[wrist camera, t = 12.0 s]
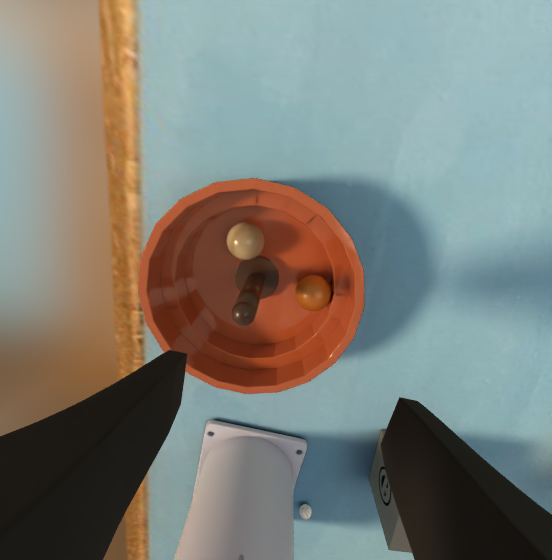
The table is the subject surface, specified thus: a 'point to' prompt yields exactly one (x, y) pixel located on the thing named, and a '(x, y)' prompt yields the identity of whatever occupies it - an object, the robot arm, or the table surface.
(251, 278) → the brown peg
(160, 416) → the robot arm
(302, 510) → the sphere
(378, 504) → the dice cube
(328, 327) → the bowl
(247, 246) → the cream bead
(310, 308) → the amber bead
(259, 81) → the table surface
